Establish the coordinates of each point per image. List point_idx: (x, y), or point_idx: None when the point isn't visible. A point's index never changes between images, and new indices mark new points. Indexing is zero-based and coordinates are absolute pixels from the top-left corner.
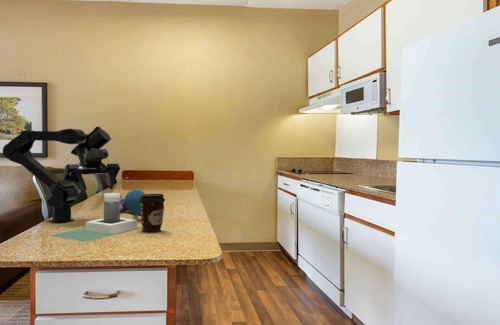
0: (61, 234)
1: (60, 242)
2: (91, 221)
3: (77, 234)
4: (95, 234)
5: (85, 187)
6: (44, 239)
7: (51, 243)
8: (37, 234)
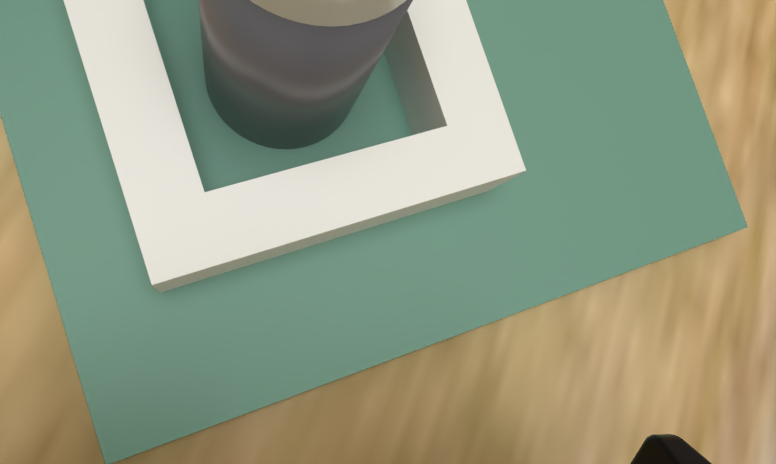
0: (674, 193)
1: (697, 59)
2: (469, 155)
3: (581, 108)
4: (473, 4)
5: (694, 461)
6: (758, 228)
7: (746, 73)
8: (766, 452)
